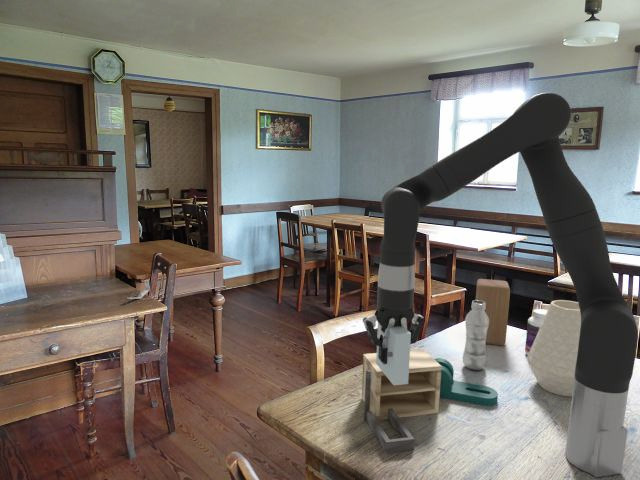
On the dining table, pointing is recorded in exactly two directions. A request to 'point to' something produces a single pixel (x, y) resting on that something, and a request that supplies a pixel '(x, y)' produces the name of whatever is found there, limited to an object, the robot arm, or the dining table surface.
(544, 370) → the vase
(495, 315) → the wooden block
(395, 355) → the door
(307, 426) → the dining table surface
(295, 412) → the dining table surface
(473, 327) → the plastic bottle
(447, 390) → the bracket
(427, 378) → the wooden caddy
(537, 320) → the pill bottle
